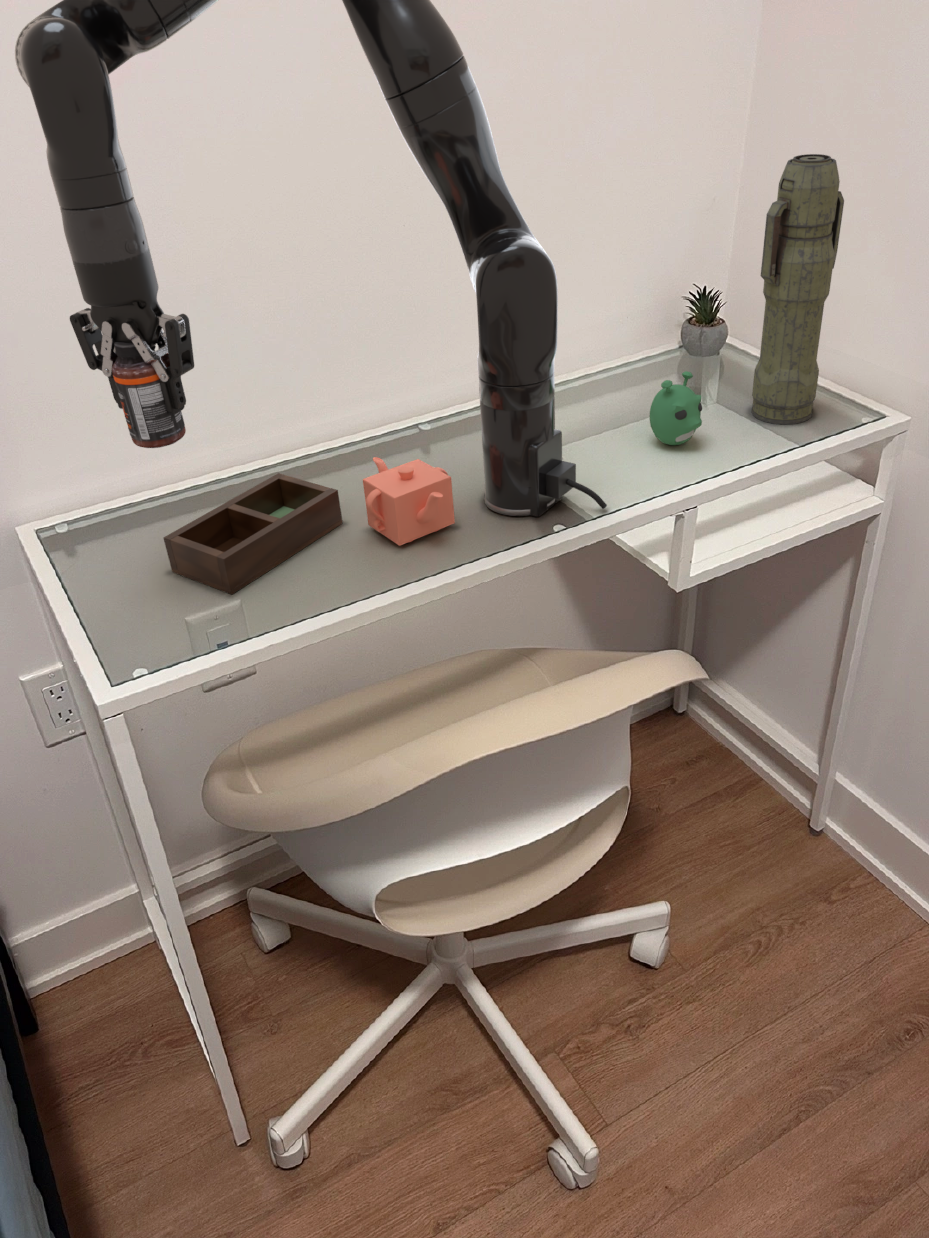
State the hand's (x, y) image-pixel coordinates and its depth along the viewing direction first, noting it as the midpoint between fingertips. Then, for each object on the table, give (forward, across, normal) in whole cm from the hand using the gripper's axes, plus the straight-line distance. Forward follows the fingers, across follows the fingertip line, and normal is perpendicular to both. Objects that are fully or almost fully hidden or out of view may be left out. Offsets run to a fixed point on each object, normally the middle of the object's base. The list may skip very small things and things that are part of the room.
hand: (151, 408), depth 109 cm
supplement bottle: (+4, 0, 0) cm, 4 cm away
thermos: (+22, -58, -66) cm, 91 cm away
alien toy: (+22, -46, -51) cm, 72 cm away
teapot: (+22, -20, -18) cm, 35 cm away
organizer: (+21, -4, -8) cm, 23 cm away
